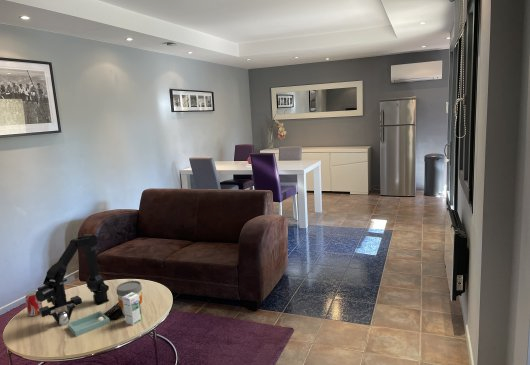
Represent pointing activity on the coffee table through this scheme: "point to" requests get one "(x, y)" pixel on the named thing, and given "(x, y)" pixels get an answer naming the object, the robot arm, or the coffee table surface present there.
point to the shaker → (63, 317)
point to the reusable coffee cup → (128, 291)
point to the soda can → (32, 304)
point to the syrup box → (132, 308)
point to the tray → (87, 323)
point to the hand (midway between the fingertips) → (63, 321)
